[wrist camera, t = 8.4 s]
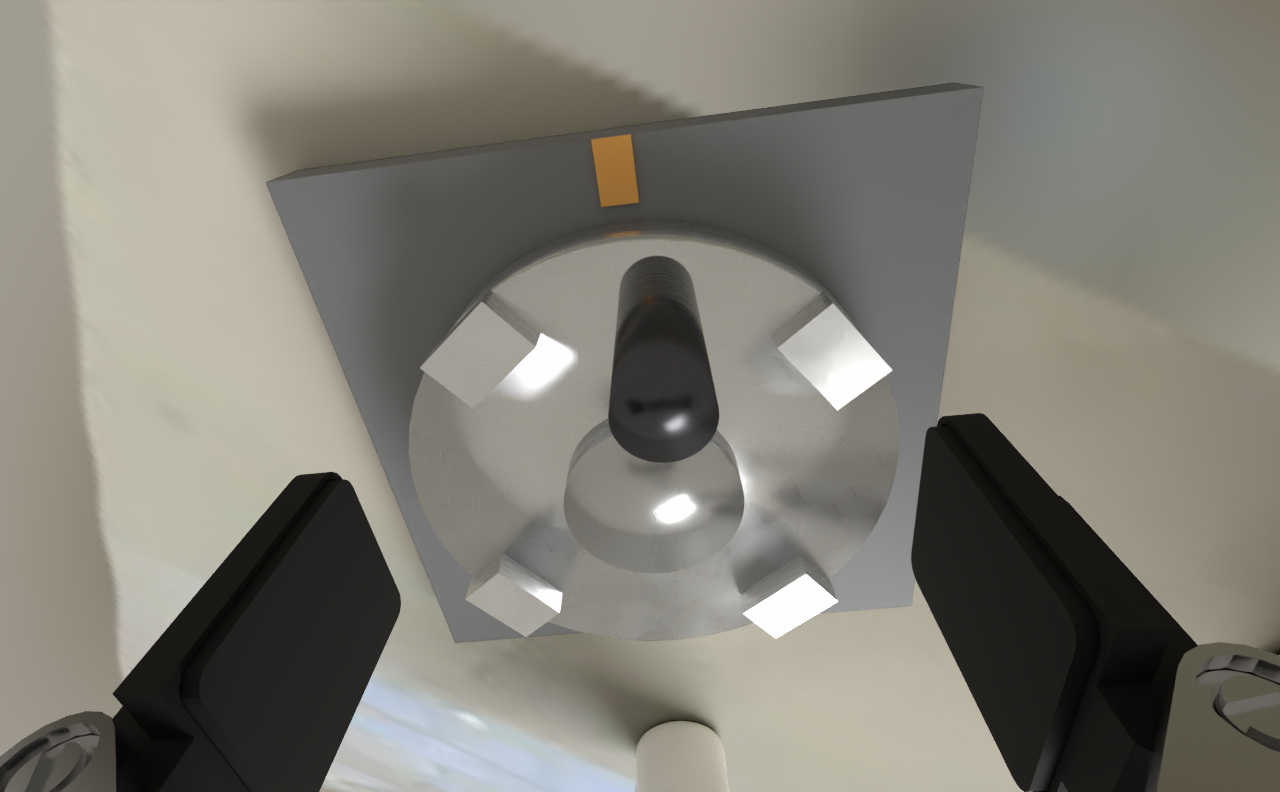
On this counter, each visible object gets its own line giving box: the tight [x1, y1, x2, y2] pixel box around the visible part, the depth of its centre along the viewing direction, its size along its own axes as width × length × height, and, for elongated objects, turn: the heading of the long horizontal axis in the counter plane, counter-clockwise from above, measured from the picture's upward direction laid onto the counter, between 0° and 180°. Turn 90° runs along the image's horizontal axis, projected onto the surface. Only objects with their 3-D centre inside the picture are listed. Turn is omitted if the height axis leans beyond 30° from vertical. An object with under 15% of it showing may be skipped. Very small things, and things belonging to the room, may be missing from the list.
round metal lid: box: [409, 219, 899, 641], centre depth 20 cm, size 17×17×10 cm
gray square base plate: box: [266, 83, 984, 643], centre depth 25 cm, size 22×22×2 cm
